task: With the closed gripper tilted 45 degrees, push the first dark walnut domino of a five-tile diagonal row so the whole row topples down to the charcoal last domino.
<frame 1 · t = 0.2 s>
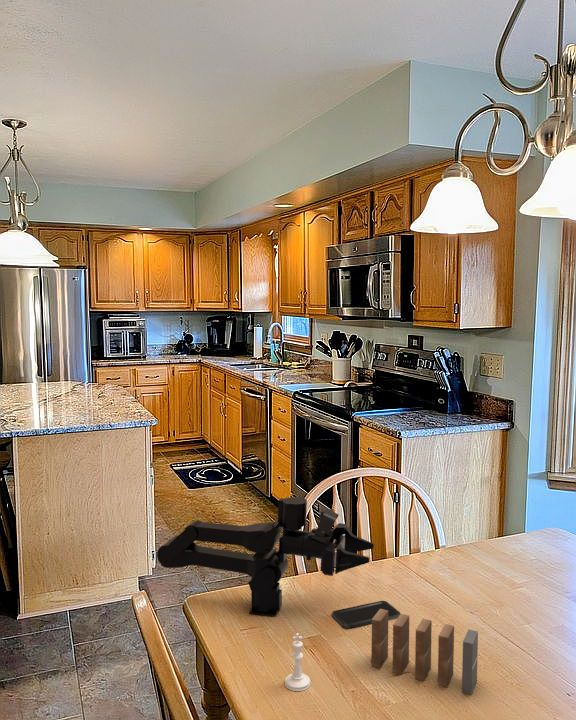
hand: (371, 552, 141), 16 cm above the table, tool horizontal, fingers open, 9 cm apart
phone: (366, 618, 146), on the table
chess piece: (297, 684, 119), on the table
domino 2: (400, 667, 124), on the table
domino 4: (445, 680, 120), on the table
domino 3: (423, 673, 122), on the table
domino 5: (469, 686, 118), on the table
domino 1: (379, 661, 126), on the table
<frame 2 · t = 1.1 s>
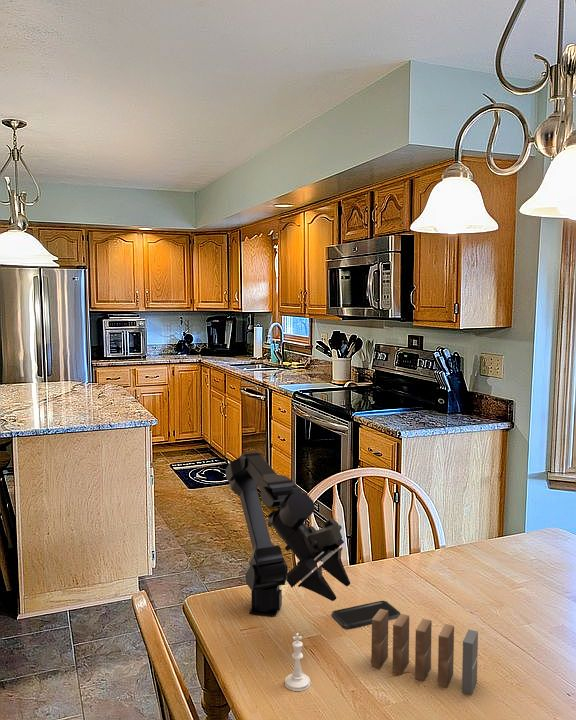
hand: (342, 592, 130), 13 cm above the table, tool tilted 45°, fingers open, 7 cm apart
nothing on the table moved.
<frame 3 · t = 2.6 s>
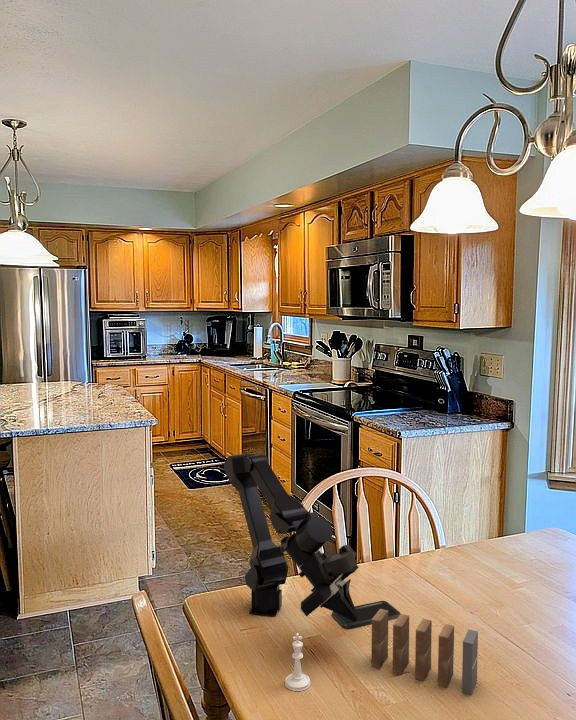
hand: (356, 620, 128), 8 cm above the table, tool tilted 45°, fingers closed
nothing on the table moved.
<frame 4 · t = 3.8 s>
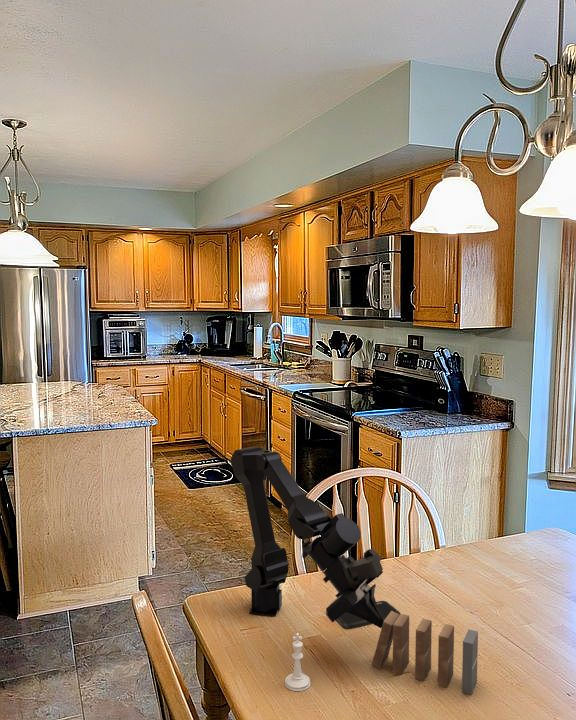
hand: (382, 626, 125), 8 cm above the table, tool tilted 45°, fingers closed
domino 1: (379, 660, 126), on the table, tilted 14°
everything else where it was.
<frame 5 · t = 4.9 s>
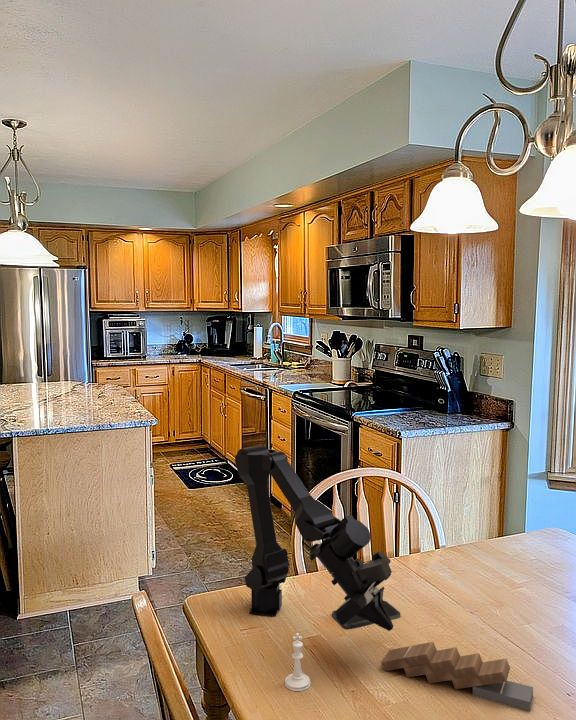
hand: (391, 629, 125), 8 cm above the table, tool tilted 45°, fingers closed
domino 2: (409, 666, 123), point 1 cm above the table, tilted 65°, touching domino 1, domino 3
domino 4: (456, 677, 119), point 1 cm above the table, tilted 66°, touching domino 3, domino 5
domino 3: (430, 671, 121), point 1 cm above the table, tilted 66°, touching domino 2, domino 4
domino 5: (475, 684, 117), point 1 cm above the table, tilted 89°, touching domino 4
domino 1: (387, 660, 126), point 1 cm above the table, tilted 66°, touching domino 2
everything else where it was.
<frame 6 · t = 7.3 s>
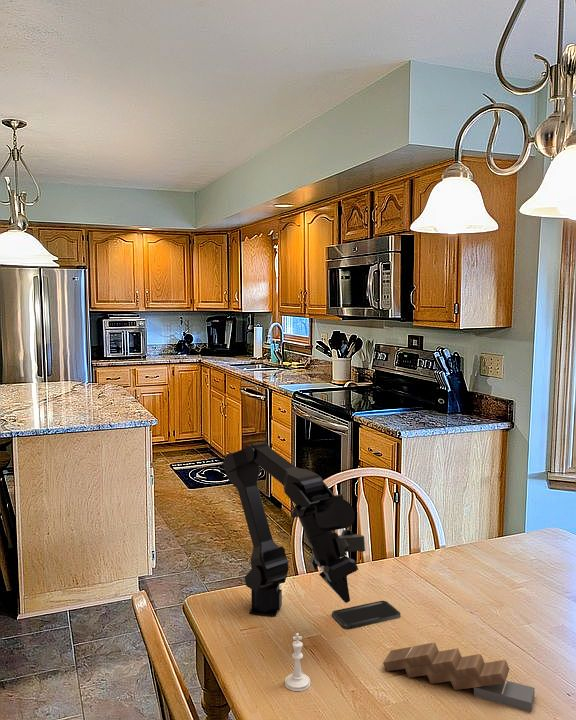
hand: (347, 601, 131), 10 cm above the table, tool tilted 25°, fingers closed
domino 2: (410, 666, 123), point 1 cm above the table, tilted 66°, touching domino 1, domino 3
domino 4: (455, 678, 119), point 1 cm above the table, tilted 66°, touching domino 3, domino 5
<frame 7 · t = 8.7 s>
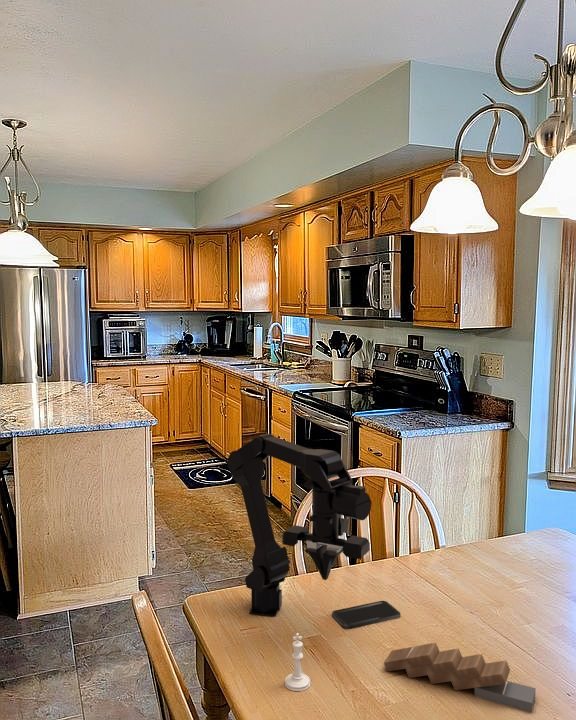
hand: (325, 579, 136), 13 cm above the table, tool pointing down, fingers closed
nothing on the table moved.
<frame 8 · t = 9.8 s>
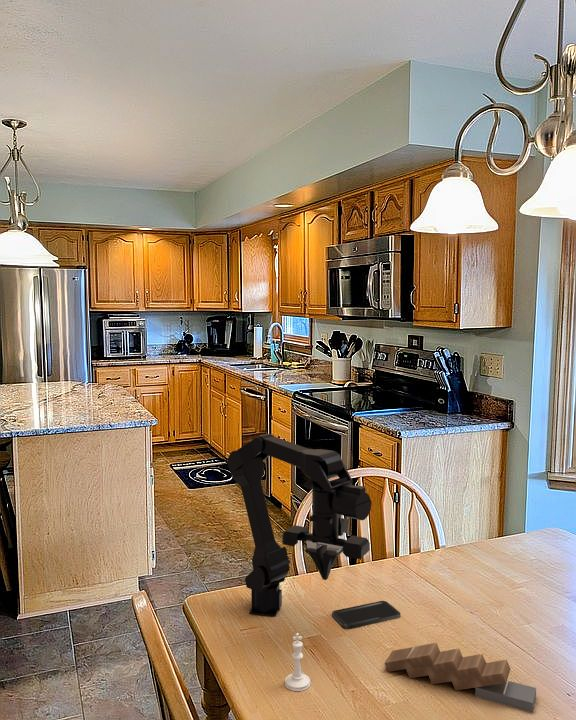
hand: (325, 579, 136), 13 cm above the table, tool pointing down, fingers closed
nothing on the table moved.
at the end: domino 5 tilted 89°; domino 3 tilted 65° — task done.
